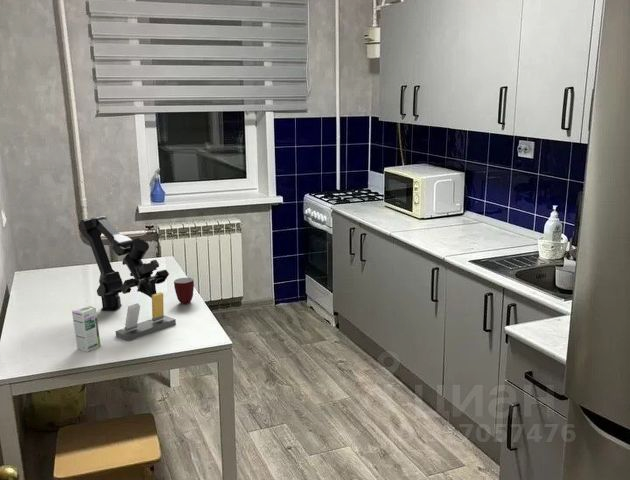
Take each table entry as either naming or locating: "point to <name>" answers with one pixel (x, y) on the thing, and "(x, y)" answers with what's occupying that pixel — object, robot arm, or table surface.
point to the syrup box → (86, 328)
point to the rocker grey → (132, 317)
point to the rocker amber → (157, 306)
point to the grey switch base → (145, 328)
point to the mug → (184, 289)
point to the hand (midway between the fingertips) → (156, 299)
